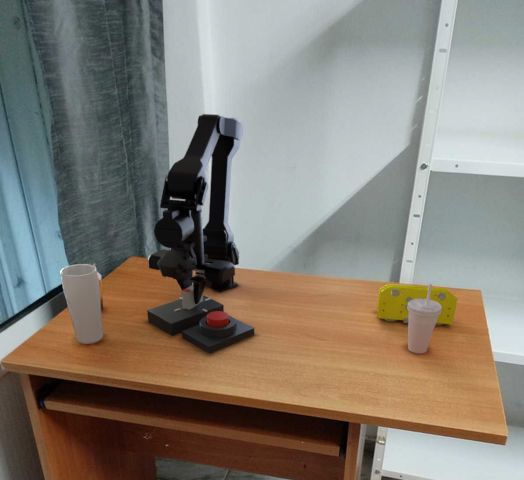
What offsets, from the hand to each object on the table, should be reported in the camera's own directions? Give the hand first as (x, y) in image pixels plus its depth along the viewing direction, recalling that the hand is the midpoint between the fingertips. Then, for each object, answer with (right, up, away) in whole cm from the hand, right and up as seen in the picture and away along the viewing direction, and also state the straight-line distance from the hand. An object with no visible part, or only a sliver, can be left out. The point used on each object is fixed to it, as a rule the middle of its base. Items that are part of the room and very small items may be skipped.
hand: (192, 302), depth 118 cm
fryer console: (-1, -4, +1) cm, 4 cm away
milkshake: (-23, -1, +5) cm, 23 cm away
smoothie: (+46, -10, -10) cm, 49 cm away
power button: (+6, -5, -8) cm, 11 cm away
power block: (+6, -8, -6) cm, 12 cm away
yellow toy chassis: (+49, -4, +2) cm, 49 cm away
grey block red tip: (0, 0, 0) cm, 0 cm away
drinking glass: (-20, -8, -8) cm, 23 cm away
